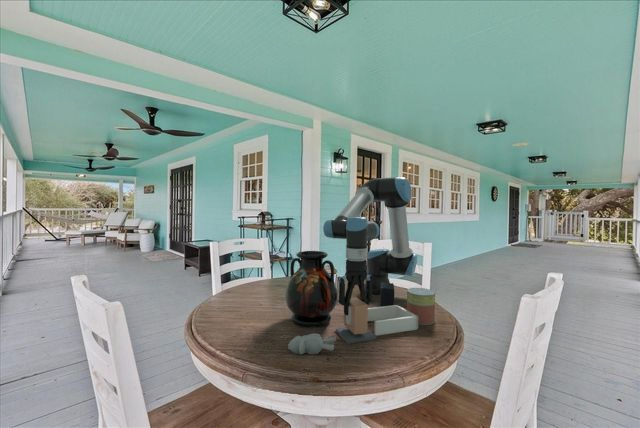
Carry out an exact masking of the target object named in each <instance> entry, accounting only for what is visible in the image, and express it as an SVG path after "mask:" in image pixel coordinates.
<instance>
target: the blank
mask: <svg viewBox="0 0 640 428" xmlns="http://www.w3.org/2000/svg"><path fill="white" fill-rule="evenodd" d="M349 306H351V325H348V324H347V323H346V315H345V314H344V313H343V317H344V318H343V325H344V327H347V328H348V329H349V330H350V331H351V332H352V333H353V334H362V333H367V330H368V322H369V321H368V308H369V307H368V306H369V305H367V304H366V303H364V302H363V301H362V299H359V298H358V297H357V296H356V297H351V300H350V304H349Z"/></svg>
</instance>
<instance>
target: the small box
mask: <svg viewBox="0 0 640 428" xmlns="http://www.w3.org/2000/svg"><path fill="white" fill-rule="evenodd" d="M379 295H380V296H379V297H380V298H379V299H380V300H379V307H383V306H392V305H395V284H394V283H393V282H392V283H391V282H390V283H383V282H381V294H379Z"/></svg>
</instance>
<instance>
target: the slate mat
mask: <svg viewBox="0 0 640 428" xmlns="http://www.w3.org/2000/svg"><path fill="white" fill-rule="evenodd" d="M335 332H336V333H337V334H338V335H339V336H340V338H341V339H342V340H343V341H344V342H346V343H347V344H355V343H360V342H366V341H374V340H377V336H376V335H374V333H372V332H371V331H370V330H368V329H367V333H362V334H353V333H352V332H351V331H350V330H349V329H348V328H347V327H346V326H344V327H337V328H335Z"/></svg>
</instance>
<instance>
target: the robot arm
mask: <svg viewBox="0 0 640 428" xmlns="http://www.w3.org/2000/svg"><path fill="white" fill-rule="evenodd" d="M411 186H412V185H411V183H410V180H409V179H408V178H406V177H398V176H396V177H395V176H394V177H381V178H380V177H376V178H372V179H369V180H368V181H366V182H365V183H363V184H362V185H360V187H358V188H357V190H356V191H355V193H354V196H353V197H352V199H351V200H349V202H348V203H347V205H345V206H344V208H343V209H342V211H340V213H338V215H337V216H336V217H335V219H327V220H326V221H325V222H324V224H323V227H322V229H323V231H322V232H323V235H324V236H325V237H326V238H328V239H333V240H334V239H340V240H345V242H346V243H345V259H346V260H345V273H344V275H343V276H337V279H338V286H339V287H338V288H339V289H338V293H339V294H338V303H339V304H340V305H341V306H343V315H344V314H345V315H346V323H347V324H348V325H351V306H349V304H350V300H351V298H352V296H353V295H352V294H353V292H354V291H353V290H354V289H355V287H356V286H357V287H358V289H359V290H358V291H359V294H360V298H361V299H360V300H361V301H363V302H364V303H366V304H367V305H368V306H369V305H370V303H372V302H373V294H374V295H380V294H381V282H383V283H391V282H390V279H389V274H391V275H398V276H403V277H405V276H406V277H411V276H413V275H414V274H415V272H416V267H417V264H418V263H417V262H418V256H417V254H415V253H414V252H413V249H412V248H411V247H410V241H409V232H408V231H409V229H408V228H409V227H408V218H407V208H406V207H407V206H409V202H410V201H411V200H412V197H413V194H412V191H413V190H412V187H411ZM374 202H383V203H384V206H385V208H386V209H388V220H389V226H390V228H389V229H390V238H391V246H392V249H391V250H390V249H388V248H379V249H370V250H369V251H368V241H373V240H375V239H376V238H377V237H378V236H379V234H380V232H381V231H380V227H379V225H378V224H377V222H375V221H372V220H368V218H366V217H365V216H361V215H362V213H363V212H364V210H365V209H366V208H367V206H369V205H371V204H372V203H374ZM367 252H368V253H367ZM366 259H367V260H366ZM346 281H347V284H346ZM346 286H347V287H346Z"/></svg>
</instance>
